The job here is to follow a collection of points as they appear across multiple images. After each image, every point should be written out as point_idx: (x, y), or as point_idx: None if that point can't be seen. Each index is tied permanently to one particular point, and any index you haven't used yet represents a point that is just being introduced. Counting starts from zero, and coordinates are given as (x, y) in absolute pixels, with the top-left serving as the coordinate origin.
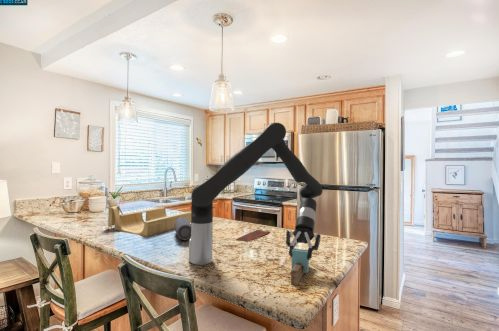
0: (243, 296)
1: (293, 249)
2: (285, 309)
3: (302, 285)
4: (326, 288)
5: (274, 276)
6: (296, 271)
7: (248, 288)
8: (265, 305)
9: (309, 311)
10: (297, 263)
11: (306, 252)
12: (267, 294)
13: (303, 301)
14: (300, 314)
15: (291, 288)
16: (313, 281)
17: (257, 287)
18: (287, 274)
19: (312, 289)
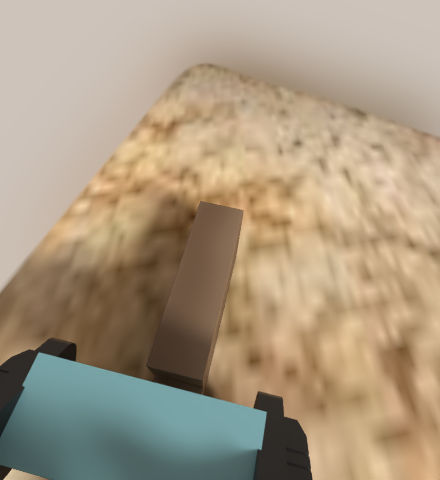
0: (416, 133)
1: (244, 456)
2: (248, 87)
3: (172, 257)
4: (43, 244)
5: (353, 353)
6: (206, 203)
7: (431, 188)
8: (317, 97)
9: (169, 86)
10: (190, 359)
11: (56, 359)
12: (331, 156)
13: (183, 130)
14: (200, 72)
15: None
16: (93, 321)
17: (396, 202)
18: None
19: (124, 223)
